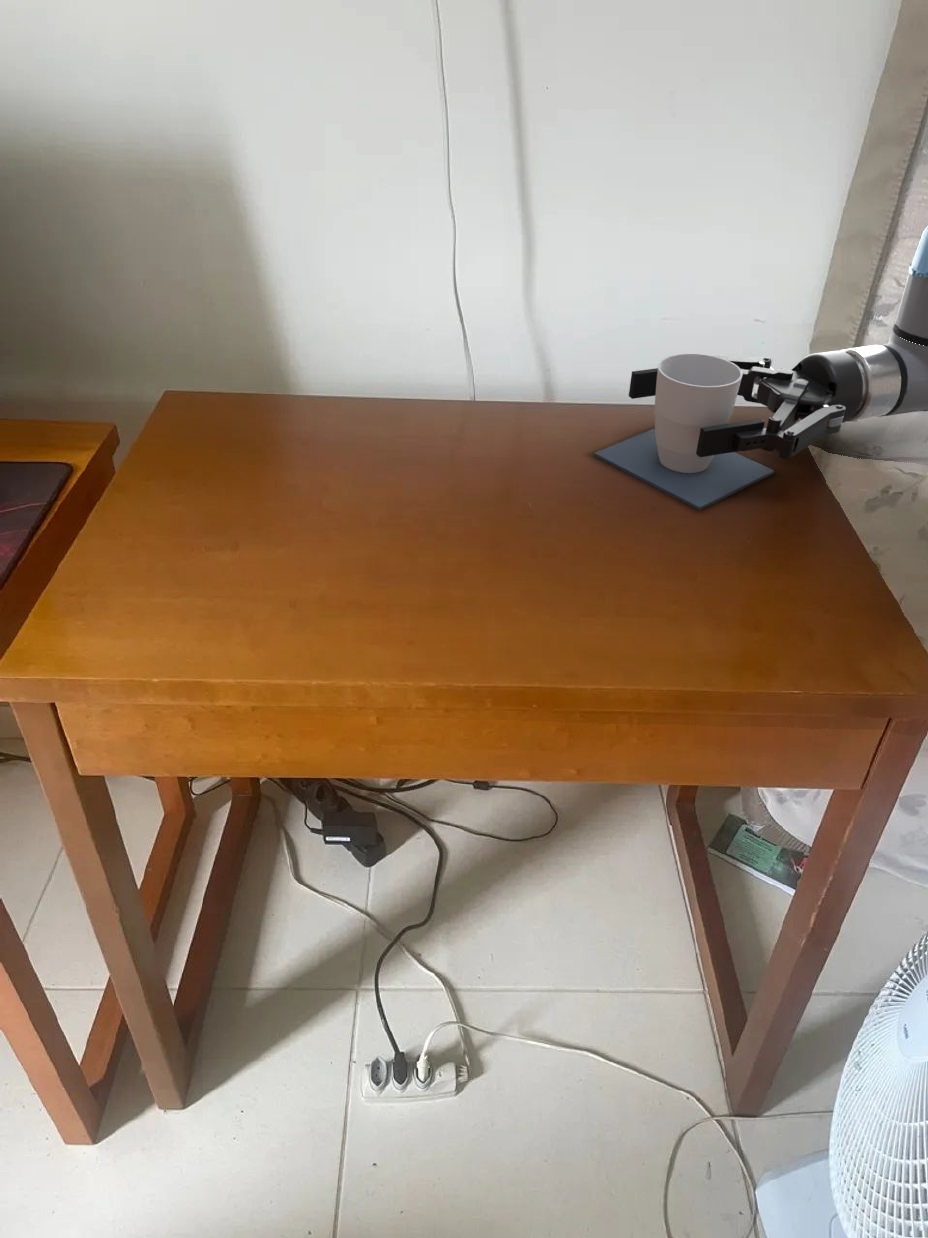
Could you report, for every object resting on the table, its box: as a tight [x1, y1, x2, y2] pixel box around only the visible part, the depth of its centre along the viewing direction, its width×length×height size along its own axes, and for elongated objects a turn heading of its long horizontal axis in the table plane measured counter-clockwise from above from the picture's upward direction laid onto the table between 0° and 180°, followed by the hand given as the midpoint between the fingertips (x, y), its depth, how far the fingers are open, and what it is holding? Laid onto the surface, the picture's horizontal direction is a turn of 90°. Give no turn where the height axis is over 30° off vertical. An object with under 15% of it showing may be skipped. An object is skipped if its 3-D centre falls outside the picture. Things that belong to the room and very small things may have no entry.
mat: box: [593, 427, 775, 511], centre depth 102 cm, size 14×12×1 cm
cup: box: [654, 353, 743, 473], centre depth 98 cm, size 8×8×10 cm
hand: (663, 412), depth 97 cm, fingers open, 13 cm apart
